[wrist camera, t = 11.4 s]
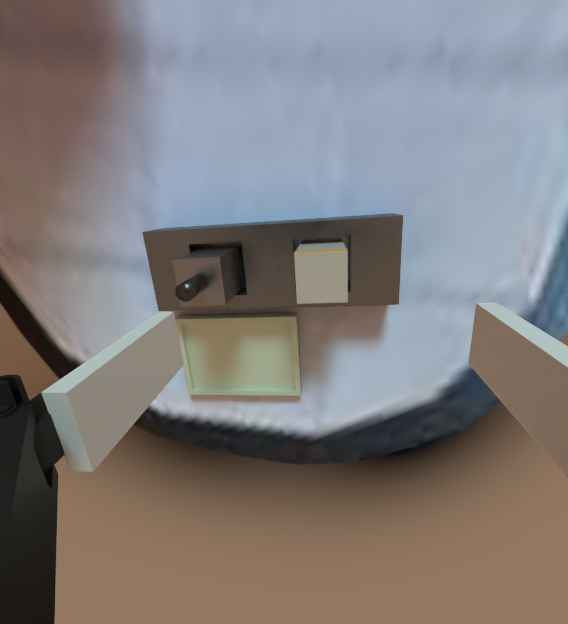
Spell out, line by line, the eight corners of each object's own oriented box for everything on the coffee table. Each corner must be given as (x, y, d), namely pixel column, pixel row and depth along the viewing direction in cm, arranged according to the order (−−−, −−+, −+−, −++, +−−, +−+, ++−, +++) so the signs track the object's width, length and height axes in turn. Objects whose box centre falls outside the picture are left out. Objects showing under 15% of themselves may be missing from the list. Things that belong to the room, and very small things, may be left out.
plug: (303, 280, 33) (296, 304, 26) (300, 240, 32) (293, 253, 25) (343, 279, 33) (348, 303, 25) (342, 238, 32) (347, 250, 24)
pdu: (175, 299, 37) (110, 343, 26) (162, 228, 35) (83, 242, 23) (390, 292, 34) (422, 339, 23) (393, 213, 31) (431, 221, 20)
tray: (192, 389, 41) (188, 394, 40) (178, 315, 38) (174, 319, 37) (301, 390, 39) (300, 395, 38) (297, 312, 36) (296, 316, 35)
